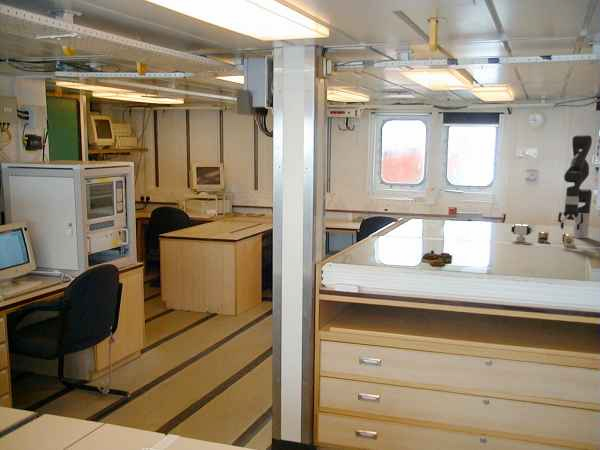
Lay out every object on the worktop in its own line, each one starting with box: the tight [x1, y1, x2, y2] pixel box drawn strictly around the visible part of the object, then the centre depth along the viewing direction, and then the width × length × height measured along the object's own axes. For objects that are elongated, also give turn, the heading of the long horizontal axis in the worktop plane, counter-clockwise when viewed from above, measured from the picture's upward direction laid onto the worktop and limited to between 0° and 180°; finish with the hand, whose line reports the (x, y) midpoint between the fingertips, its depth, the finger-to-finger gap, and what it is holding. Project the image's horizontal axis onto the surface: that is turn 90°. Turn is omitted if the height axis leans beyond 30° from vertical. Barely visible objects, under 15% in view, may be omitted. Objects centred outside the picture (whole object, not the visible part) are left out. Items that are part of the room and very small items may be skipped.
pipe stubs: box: [537, 230, 573, 245], centre depth 393 cm, size 6×20×7 cm, turn 61°
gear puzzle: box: [420, 249, 453, 267], centre depth 326 cm, size 31×16×4 cm, turn 165°
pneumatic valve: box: [510, 223, 533, 243], centre depth 397 cm, size 6×12×12 cm, turn 57°
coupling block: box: [563, 235, 575, 248], centre depth 381 cm, size 7×5×7 cm
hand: (569, 229), depth 380 cm, fingers open, 8 cm apart
